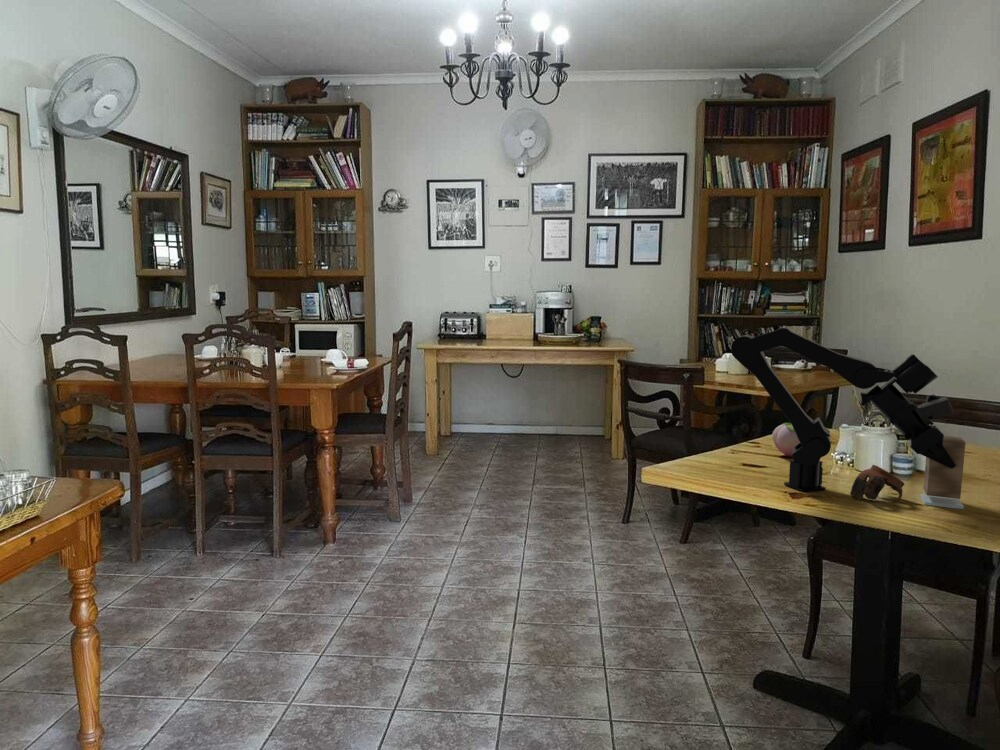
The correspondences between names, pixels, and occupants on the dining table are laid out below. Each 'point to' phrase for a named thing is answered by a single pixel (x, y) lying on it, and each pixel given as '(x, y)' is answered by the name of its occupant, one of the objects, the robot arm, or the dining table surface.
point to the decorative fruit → (785, 438)
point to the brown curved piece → (875, 483)
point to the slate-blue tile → (941, 501)
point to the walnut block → (946, 471)
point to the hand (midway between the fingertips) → (951, 464)
